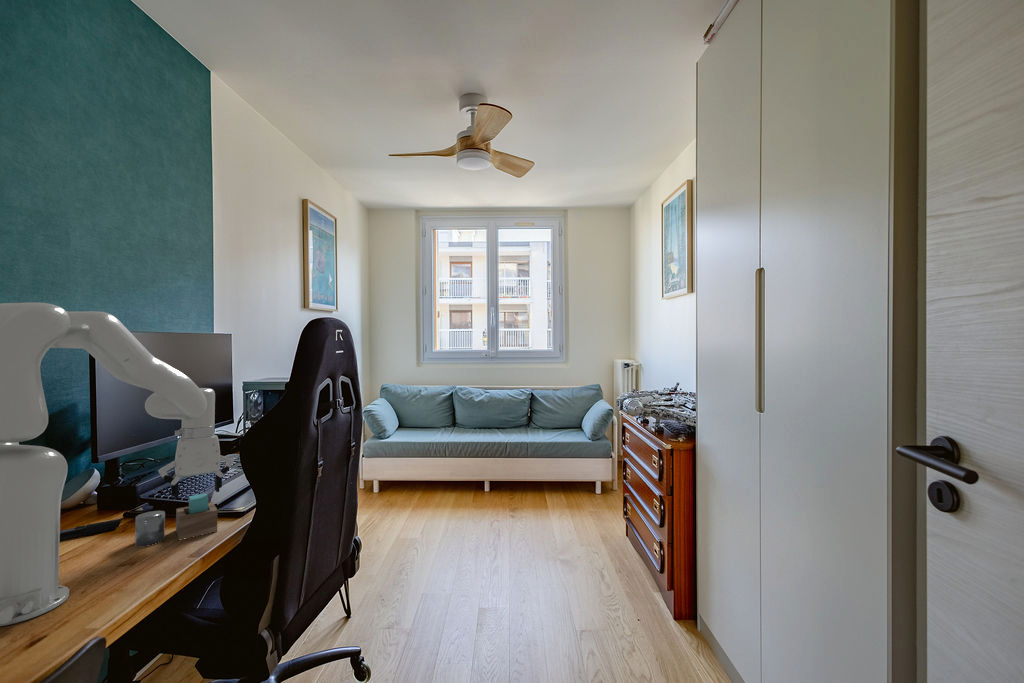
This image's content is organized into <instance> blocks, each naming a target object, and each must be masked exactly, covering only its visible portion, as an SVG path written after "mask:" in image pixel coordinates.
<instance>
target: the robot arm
mask: <svg viewBox="0 0 1024 683" xmlns="http://www.w3.org/2000/svg"><path fill="white" fill-rule="evenodd" d="M50 348H51V349H83V350H85V351H86V352H87V353H88V354H89V355H91V357H93V358H94V359H95V360H96V361H97V362H98V363H99V364H101V365H102V367H104V368H105V370H107V371H108V373H110V374H111V376H113V377H114V378H116V379H117V380H119V381H121V382H123V383H126V384H129V385H132V386H135V387H139V388H141V389H145V390H148V391H151V392H153V393H152V394H150V395H149V396H148V397H147V398H146V400H145V402H144V409H145V411H146V413H147V414H148V415H150V416H151V417H153V418H157V419H162V420H163V419H165V420H181V427H180V428H179V429H178V430H174V436H175V437H176V436H178V437H179V436H180V438H178V440H177V443H176V449H175V456H174V457H175V458H174V460H173V461H171V462H170V463H168V464H166V465H164V466H162V467H161V468H159V469H158V470H157V471H158V474H159V475H160V477H161V478H162V479H163V480H164V481H165V482H167V483H169V484H170V485H171V488H170V490H171V492H170V494H171V495H170V496H171V497H174V500H179V493H180V492H179V490H180V488H179V483H178V482H179V481H180V480H181V479H182V478H186V477H193V476H201V475H205V474H207V475H208V474H211V473H214V474H215V476H214V490H215V492H216V493H219V492H220V489H222V488H223V477H224V475H225V474H226V473H228V471H229V470H230V468H231V467H232V465H233V464H234V463H235V461H234V459H233V458H229V457H227V456H224V455H221V450H220V449H221V447H220V441H219V437H218V435H217V434H215V427H216V426H215V420H216V419H215V418H216V417H215V415H216V412H215V411H216V410H215V409H216V406H215V405H216V393H215V390H214V389H213V388H209V387H199V386H198V385H197V384H196V383H195V382H194V381H193V380H192V379H191V378H190V377H189V376H187V375H186V374H184V373H183V372H182V371H180V370H178V369H177V368H175V367H173V366H171V365H170V364H169V363H166V362H165V361H163V360H162V359H159V358H157V357H155V356H154V355H153V354H152V353H151V352H150V351H149V350H147V348H146V347H145V346H144V345H143V344H142V343H141V342H140V341H139V340H138V339H137V337H135V336H134V334H133V333H132V332H131V331H130V330H129V329H128V328H127V327H126V326H125V325H124V323H122V322H121V321H120V319H118V318H117V317H116V316H114V315H113V314H111V313H108V312H105V311H99V310H98V311H95V310H88V311H76V310H75V311H68V310H65V309H64V308H63V307H61V306H58V305H56V304H52V303H47V302H2V303H0V627H4V626H9V625H14V624H18V623H21V622H24V621H28V620H30V619H33V618H36V617H38V616H41V615H43V614H45V613H47V612H49V611H52V610H54V609H55V608H57V607H59V606H60V605H62V604H63V603H64V602H65V601H67V599H68V598H69V597H70V588H69V587H68V586H65V585H61V584H60V585H59V582H60V543H61V542H60V541H61V540H60V530H61V506H62V505H61V504H62V503H61V502H62V496H63V490H64V488H65V484H66V481H67V476H68V471H69V470H68V467H69V466H68V462H67V460H66V458H65V457H64V455H63V454H62V453H60V452H59V451H58V450H56V449H54V448H50V447H46V446H41V445H29V444H20V443H21V442H22V443H23V442H26V441H30V440H33V439H35V438H38V437H39V436H40V435H42V434H43V433H44V432H45V430H46V429H47V427H48V425H49V412H48V407H47V401H46V396H45V391H44V387H43V382H42V376H41V363H42V360H43V358H44V356H45V355H46V354H47V352H48V351H49V350H50ZM221 462H224V463H226V464H225V465H224V466H223V467H222V468H221ZM173 468H174V472H175V473H174V475H173V476H171V475H169V474H168V473H167V472H168V471H170V470H172V469H173Z"/></svg>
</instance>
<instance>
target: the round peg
mask: <svg viewBox="0 0 1024 683" xmlns="http://www.w3.org/2000/svg"><path fill="white" fill-rule="evenodd" d="M165 522H166V511H165V510H154V511H153V510H152V511H147V512H144V513H140V514H138V515H136V516H135V526H134V527H135V529H134V531H135V532H134V536H135V537H134V546H135V545H136V546H135V547H138V546H145V547H148V546H147V545H150V546H153V545H152V544H154V545H156V544H155V543H157V544H159V543H158V542H160V541H162V540H163V539H164V540H165V538H166V537H165V535H166V534H165V533H166V532H165V531H166V530H165V527H166V526H165V525H166V523H165ZM164 540H163V541H164ZM163 541H162V542H163ZM160 543H161V542H160Z"/></svg>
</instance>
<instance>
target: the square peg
mask: <svg viewBox="0 0 1024 683" xmlns="http://www.w3.org/2000/svg"><path fill="white" fill-rule="evenodd" d="M208 503H209V495H208V494H207V493H201V494H200V493H199V494H195V495H190V496H188V506H189V514H192V513H197V512H202V511H207V510H208Z"/></svg>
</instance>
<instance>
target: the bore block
mask: <svg viewBox="0 0 1024 683" xmlns="http://www.w3.org/2000/svg"><path fill="white" fill-rule="evenodd" d="M175 510H176V511H175V514H176V515H175V532H176V535H178V536H177V539H178V538H179V539H183V540H185V539H184V538H188V539H190V538H189V537H192V538H194V537H193V536H196V537H199V536H198V535H201V536H203V535H202V534H205V535H208V533H209V534H213V533H212V532H214V533H217V532H218V512H219V511H218V508H217V507H216V505H215V503H214V501H210V502H208V510H207V511H202V512H197V513H192V514H189V505H188V506H184V507H178V508H176V509H175ZM216 531H217V532H216ZM179 539H178V540H179Z"/></svg>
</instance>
